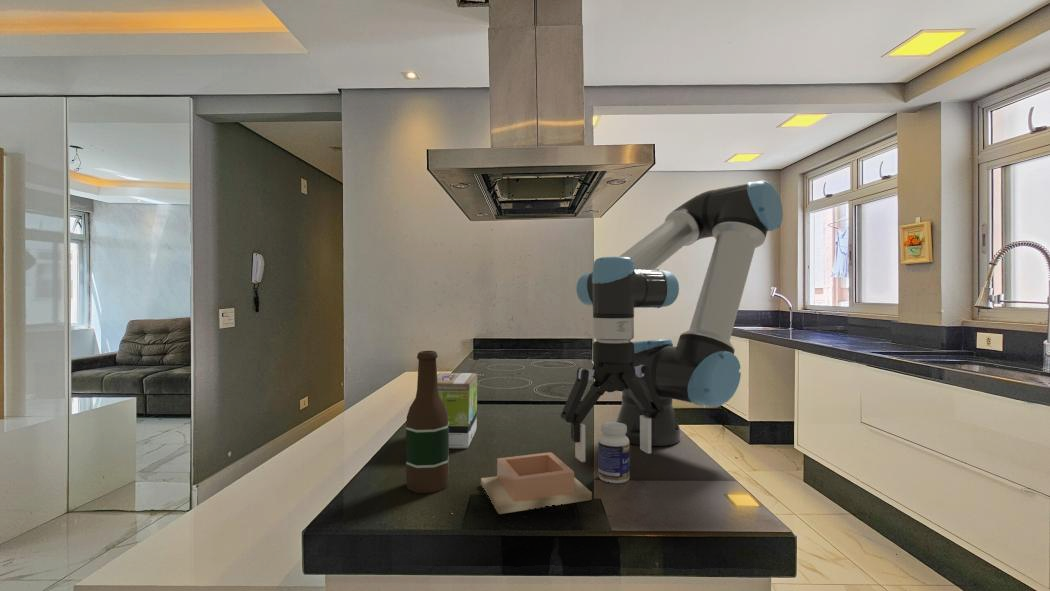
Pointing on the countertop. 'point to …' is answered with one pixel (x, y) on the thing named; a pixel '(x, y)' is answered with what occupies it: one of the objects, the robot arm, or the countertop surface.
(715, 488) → the countertop surface
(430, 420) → the beer bottle
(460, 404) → the tea box
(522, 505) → the board
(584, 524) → the countertop surface
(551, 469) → the well
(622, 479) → the pill bottle
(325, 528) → the countertop surface
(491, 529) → the countertop surface
